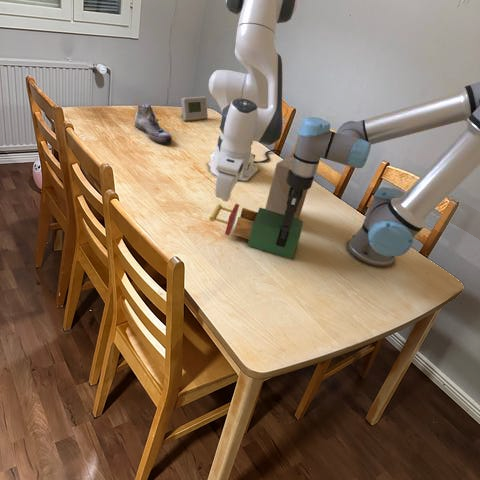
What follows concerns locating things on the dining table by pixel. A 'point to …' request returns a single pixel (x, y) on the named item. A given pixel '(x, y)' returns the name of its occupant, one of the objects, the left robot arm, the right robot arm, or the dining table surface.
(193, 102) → the digital clock
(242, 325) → the dining table surface
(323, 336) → the dining table surface
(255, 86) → the left robot arm
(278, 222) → the cabinet
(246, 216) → the drawer
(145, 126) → the shoe
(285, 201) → the wooden block
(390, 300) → the dining table surface
